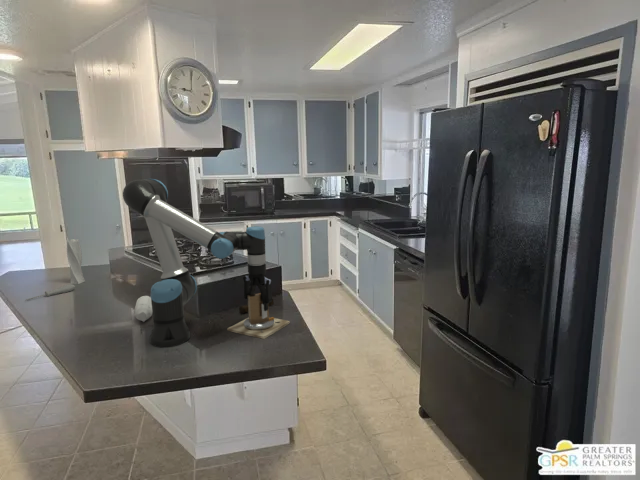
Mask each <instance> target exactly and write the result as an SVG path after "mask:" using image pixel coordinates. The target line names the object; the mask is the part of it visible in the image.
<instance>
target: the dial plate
mask: <svg viewBox="0 0 640 480" xmlns="http://www.w3.org/2000/svg"><path fill="white" fill-rule="evenodd" d="M248 318H249V317H247V318H245V319H243V320H241V321H239V322H237V323H236V324H234V325H232V326H229V327H227V329H226V331H228V332H231V333H236V334H240V335H243V336H244V335H245V336H249V337H253V338H257V339H262V340H265V339H267V338H268V337H270V336H271V335H273V334H275V333H277V332H278V331H280V330H281V329H283V328H285V327H286V326H288V325H289V324H290V323H291V322H290V320H286V319H280V318H277V317H274V325H273V326H272V327H270V328H267V329H262V330H251V329H247V328H245V327H244V321H245V320H246V319H248Z"/></svg>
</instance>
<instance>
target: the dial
mask: <svg viewBox="0 0 640 480" xmlns="http://www.w3.org/2000/svg"><path fill="white" fill-rule="evenodd" d="M262 303H263V301H262V297H261V293H260V292H258V293H254V294H251V295H248V300H247V304H248V312H247V313H248V317H247V318H248V319H247V318H245V319H246V320H245V319H244V320H245V321H244V327H245V328H247V329H251V330H262V329H267V328H270V327H272V326H273V325H274V318H275V317H274V316H271V317H270V313H269V310H270V309H269V308H270V306H268V310H267V317H266V318H264V319H262Z"/></svg>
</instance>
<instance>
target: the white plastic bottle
mask: <svg viewBox="0 0 640 480" xmlns="http://www.w3.org/2000/svg"><path fill="white" fill-rule="evenodd" d="M133 314H134V317H135V319H136V320H138V321H142V323H144V322H145V321H147V320H149V319H150V318H151V317H153V313H152V303H151V296H149V295H143V296H140V297H138V299H137V300H136V302H135V307H134V309H133Z"/></svg>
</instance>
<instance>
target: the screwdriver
mask: <svg viewBox="0 0 640 480" xmlns="http://www.w3.org/2000/svg"><path fill="white" fill-rule="evenodd" d="M75 288H76V286H75V285H74V284H71V283H70V284H64V285H63V286H60V287H58V288H55V289H52V290H47V291H45V292H44V293H43V294H41V295H38V296H32V297H29V298H26V299H25V301H29V300H33V299H36V298H39V297H43V296H45V297H50V296H53V295H55V296H56V295H59V294H66V293H70V292H72V291H74V290H75Z"/></svg>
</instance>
